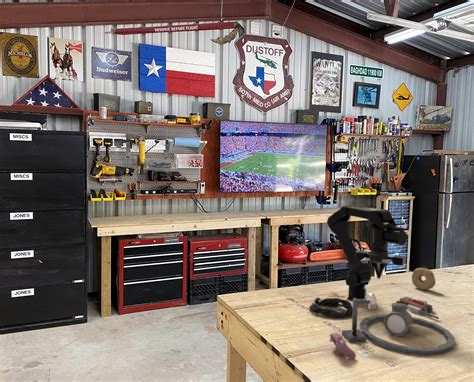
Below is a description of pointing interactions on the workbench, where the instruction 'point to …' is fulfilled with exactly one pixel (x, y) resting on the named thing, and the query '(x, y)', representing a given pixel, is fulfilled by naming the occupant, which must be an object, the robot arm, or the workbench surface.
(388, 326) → the pipe fitting
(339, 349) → the purple elongated lump
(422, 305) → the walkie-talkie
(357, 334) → the stand
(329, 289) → the workbench surface
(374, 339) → the ring
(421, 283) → the stone disc
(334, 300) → the cable
